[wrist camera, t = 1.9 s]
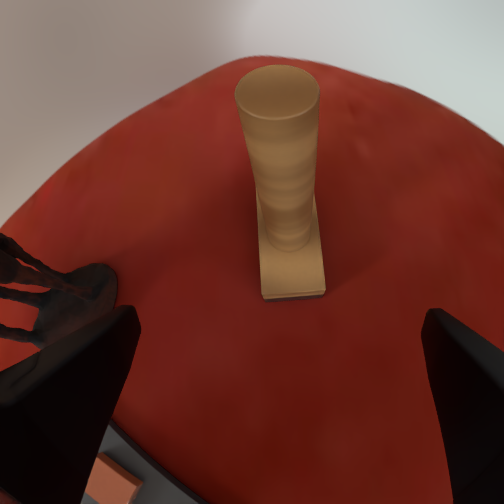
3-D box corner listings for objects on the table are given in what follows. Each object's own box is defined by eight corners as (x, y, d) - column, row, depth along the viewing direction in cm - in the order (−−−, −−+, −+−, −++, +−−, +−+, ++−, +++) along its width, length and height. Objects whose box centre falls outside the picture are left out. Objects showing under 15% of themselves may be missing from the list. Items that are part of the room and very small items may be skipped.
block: (143, 482, 18) (136, 486, 17) (126, 513, 17) (119, 518, 16) (102, 451, 19) (93, 454, 18) (87, 483, 18) (78, 487, 17)
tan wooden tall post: (322, 298, 22) (364, 187, 8) (265, 302, 23) (213, 200, 8) (310, 195, 25) (316, 26, 11) (259, 199, 25) (219, 35, 11)
